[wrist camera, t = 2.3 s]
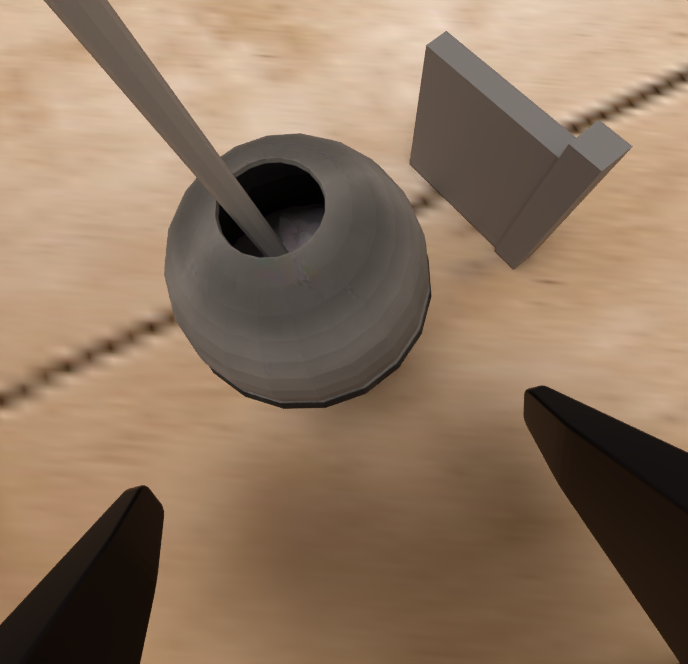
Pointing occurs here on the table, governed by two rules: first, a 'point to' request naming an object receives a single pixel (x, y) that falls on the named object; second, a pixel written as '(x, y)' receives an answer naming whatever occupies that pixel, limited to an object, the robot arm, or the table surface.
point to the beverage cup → (276, 245)
